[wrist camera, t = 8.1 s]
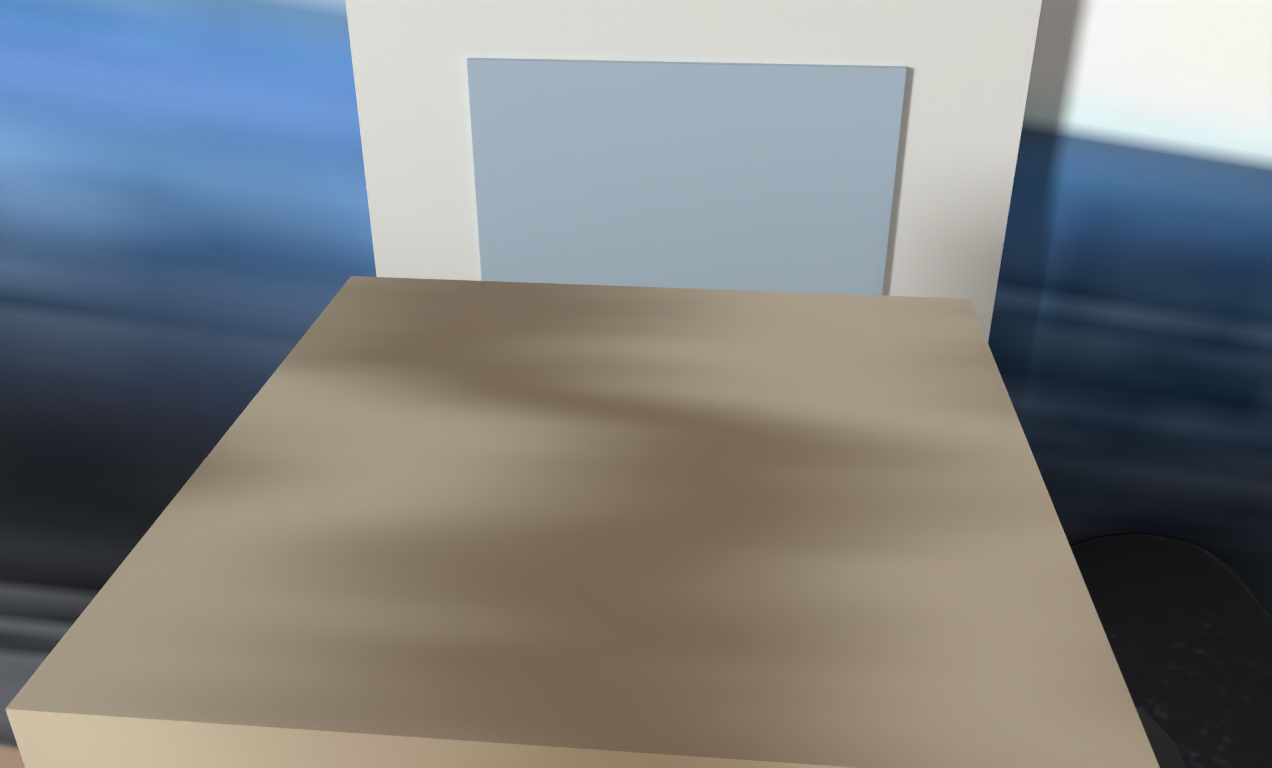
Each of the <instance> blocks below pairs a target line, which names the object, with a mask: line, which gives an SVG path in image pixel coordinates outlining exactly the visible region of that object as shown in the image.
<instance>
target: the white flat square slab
mask: <svg viewBox="0 0 1272 768" xmlns="http://www.w3.org/2000/svg"><path fill="white" fill-rule="evenodd" d="M1041 4H1042V0H346V9H347V18H348V27H349V35H350V44H351V53H352V62H353V71H354V80H355V89H356V98H357V106H358V115H359V124H360V133H361V142H362V151H363V160H364V168H365V177H366V186H367V195H368V204H369V213H370V222H371V230H372V239H373V248H374V257H375V266H376V275H377V277H390V278H417V279H445V280H472V281H499V282H527V283H554V284H581V285H609V286H636V287H663V288H691V289H718V290H745V291H772V292H800V293H827V294H854V295H882V296H909V297H936V298H964V299H970V301H971V303H972V306H973V308H974V311H975V313H976V316H977V318H978V320H979V323H980V325H981V328H982V330H983V333H984V335H985V338H986V340H987V343H988V340H989V333H990V327H991V321H992V314H993V308H994V302H995V295H996V289H997V283H998V276H999V270H1000V264H1001V257H1002V251H1003V245H1004V238H1005V232H1006V226H1007V219H1008V213H1009V207H1010V200H1011V194H1012V188H1013V182H1014V175H1015V169H1016V163H1017V156H1018V150H1019V144H1020V137H1021V131H1022V125H1023V118H1024V112H1025V106H1026V99H1027V93H1028V87H1029V80H1030V74H1031V68H1032V61H1033V55H1034V49H1035V42H1036V36H1037V30H1038V23H1039V17H1040V11H1041Z"/></svg>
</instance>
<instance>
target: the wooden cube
mask: <svg viewBox="0 0 1272 768" xmlns="http://www.w3.org/2000/svg"><path fill="white" fill-rule="evenodd" d="M6 712H7V715H8V718H9V721H10V724H11V727H12V730H13V733H14V736H15V739H16V742H17V745H18V748H19V751H20V754H21V756H22V759H23V762H24V765H25V768H1160V767H1159V765H1158V762H1157V760H1156V757H1155V755H1154V752H1153V750H1152V748H1151V745H1150V743H1149V740H1148V738H1147V735H1146V733H1145V730H1144V728H1143V725H1142V723H1141V720H1140V718H1139V715H1138V713H1137V711H1136V708H1135V706H1134V703H1133V701H1132V698H1131V696H1130V693H1129V691H1128V688H1127V686H1126V683H1125V681H1124V678H1123V676H1122V673H1121V671H1120V669H1119V666H1118V664H1117V661H1116V659H1115V656H1114V654H1113V651H1112V649H1111V646H1110V644H1109V641H1108V639H1107V636H1106V634H1105V632H1104V629H1103V627H1102V624H1101V622H1100V619H1099V617H1098V614H1097V612H1096V609H1095V607H1094V604H1093V602H1092V599H1091V597H1090V594H1089V592H1088V590H1087V587H1086V585H1085V582H1084V580H1083V577H1082V575H1081V572H1080V570H1079V567H1078V565H1077V562H1076V560H1075V557H1074V555H1073V553H1072V550H1071V548H1070V545H1069V543H1068V540H1067V538H1066V535H1065V533H1064V530H1063V528H1062V525H1061V523H1060V520H1059V518H1058V515H1057V513H1056V511H1055V508H1054V506H1053V503H1052V501H1051V498H1050V496H1049V493H1048V491H1047V488H1046V486H1045V483H1044V481H1043V478H1042V476H1041V474H1040V471H1039V469H1038V466H1037V464H1036V461H1035V459H1034V456H1033V454H1032V451H1031V449H1030V446H1029V444H1028V441H1027V439H1026V436H1025V434H1024V432H1023V429H1022V427H1021V424H1020V422H1019V419H1018V417H1017V414H1016V412H1015V409H1014V407H1013V404H1012V402H1011V399H1010V397H1009V395H1008V392H1007V390H1006V387H1005V385H1004V382H1003V380H1002V377H1001V375H1000V372H999V370H998V367H997V365H996V362H995V360H994V357H993V355H992V353H991V350H990V348H989V345H988V343H987V340H986V338H985V335H984V333H983V330H982V328H981V325H980V323H979V320H978V318H977V316H976V313H975V311H974V308H973V306H972V303H971V301H970V299H964V298H936V297H909V296H882V295H854V294H827V293H800V292H772V291H745V290H718V289H691V288H663V287H636V286H609V285H581V284H554V283H527V282H499V281H472V280H445V279H417V278H390V277H363V276H351V277H350V278H349V279H348V281H347V282H346V283H345V284H344V286H343V287H342V288H341V289H340V291H339V292H338V293H337V294H336V296H335V297H334V298H333V299H332V301H331V302H330V303H329V304H328V306H327V307H326V308H325V309H324V311H323V312H322V313H321V314H320V316H319V317H318V318H317V319H316V321H315V322H314V323H313V325H312V326H311V327H310V328H309V330H308V331H307V332H306V333H305V335H304V336H303V337H302V338H301V340H300V341H299V342H298V343H297V345H296V346H295V347H294V348H293V350H292V351H291V352H290V353H289V355H288V356H287V357H286V358H285V360H284V361H283V362H282V363H281V365H280V366H279V367H278V368H277V370H276V371H275V372H274V373H273V375H272V376H271V377H270V378H269V380H268V381H267V382H266V383H265V385H264V386H263V387H262V388H261V390H260V391H259V392H258V393H257V395H256V396H255V397H254V398H253V400H252V401H251V402H250V403H249V405H248V406H247V407H246V408H245V410H244V411H243V412H242V413H241V415H240V416H239V417H238V418H237V420H236V421H235V422H234V423H233V425H232V426H231V427H230V428H229V430H228V431H227V432H226V433H225V435H224V436H223V437H222V438H221V440H220V441H219V442H218V443H217V445H216V446H215V447H214V448H213V450H212V451H211V452H210V453H209V455H208V456H207V457H206V458H205V460H204V461H203V462H202V463H201V465H200V466H199V467H198V468H197V470H196V471H195V472H194V474H193V475H192V476H191V477H190V479H189V480H188V481H187V482H186V484H185V485H184V486H183V487H182V489H181V490H180V491H179V492H178V494H177V495H176V496H175V497H174V499H173V500H172V501H171V502H170V504H169V505H168V506H167V507H166V509H165V510H164V511H163V512H162V514H161V515H160V516H159V517H158V519H157V520H156V521H155V522H154V524H153V525H152V526H151V527H150V529H149V530H148V531H147V532H146V534H145V535H144V536H143V537H142V539H141V540H140V541H139V542H138V544H137V545H136V546H135V547H134V549H133V550H132V551H131V552H130V554H129V555H128V556H127V557H126V559H125V560H124V561H123V562H122V564H121V565H120V566H119V567H118V569H117V570H116V571H115V572H114V574H113V575H112V576H111V577H110V579H109V580H108V581H107V582H106V584H105V585H104V586H103V587H102V589H101V590H100V591H99V592H98V594H97V595H96V596H95V597H94V599H93V600H92V601H91V602H90V604H89V605H88V606H87V607H86V609H85V610H84V611H83V612H82V614H81V615H80V616H79V617H78V619H77V620H76V621H75V623H74V624H73V625H72V626H71V628H70V629H69V630H68V631H67V633H66V634H65V635H64V636H63V638H62V639H61V640H60V641H59V643H58V644H57V645H56V646H55V648H54V649H53V650H52V651H51V653H50V654H49V655H48V656H47V658H46V659H45V660H44V661H43V663H42V664H41V665H40V666H39V668H38V669H37V670H36V671H35V673H34V674H33V675H32V676H31V678H30V679H29V680H28V681H27V683H26V684H25V685H24V686H23V688H22V689H21V690H20V691H19V693H18V694H17V695H16V696H15V698H14V699H13V700H12V701H11V703H10V704H9V705H8V706H7V708H6Z"/></svg>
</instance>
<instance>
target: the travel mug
mask: <svg viewBox="0 0 1272 768" xmlns="http://www.w3.org/2000/svg"><path fill="white" fill-rule="evenodd" d="M1070 548H1071V550H1072V553H1073V555H1074V557H1075V560H1076V562H1077V565H1078V567H1079V570H1080V572H1081V575H1082V577H1083V580H1084V582H1085V585H1086V587H1087V590H1088V592H1089V594H1090V597H1091V599H1092V602H1093V604H1094V607H1095V609H1096V612H1097V614H1098V617H1099V619H1100V622H1101V624H1102V627H1103V629H1104V632H1105V634H1106V636H1107V639H1108V641H1109V644H1110V646H1111V649H1112V651H1113V654H1114V656H1115V659H1116V661H1117V664H1118V666H1119V669H1120V671H1121V673H1122V676H1123V678H1124V681H1125V683H1126V686H1127V688H1128V691H1129V693H1130V696H1131V698H1132V701H1133V703H1134V706H1135V707H1142V708H1143V709H1144V710H1145V711H1146V712H1147V713H1148V714H1149V715H1150V716H1151V717H1152V718H1153V720H1154V721H1155V722H1156V723H1157V724H1158V725H1159V726H1160V727H1161V728H1162V729H1163V730H1164V731H1165V732H1166V733H1167V734H1168V735H1169V736H1170V737H1171V738H1172V739H1173V741H1174V742H1175V743H1176V746H1177V748H1178V750H1179V753H1180V755H1181V757H1182V760H1183V762H1184V764H1185V767H1186V768H1272V619H1271V617H1270V616H1269V615H1268V613H1267V612H1266V610H1265V609H1264V607H1263V606H1262V605H1261V603H1260V602H1259V600H1258V599H1257V597H1256V596H1255V595H1254V593H1253V592H1252V590H1251V589H1250V588H1249V586H1248V585H1247V584H1246V582H1245V581H1244V580H1243V579H1242V577H1241V576H1240V575H1239V574H1238V573H1237V572H1236V571H1235V570H1234V569H1233V568H1232V567H1231V566H1230V565H1228V564H1227V563H1225V562H1224V561H1223V560H1221V559H1220V558H1219V557H1217V556H1216V555H1215V554H1213V553H1211V552H1209V551H1207V550H1205V549H1203V548H1202V547H1199V546H1197V545H1194V544H1192V543H1189V542H1186V541H1183V540H1179V539H1175V538H1171V537H1167V536H1159V535H1152V534H1121V535H1111V536H1105V537H1100V538H1094V539H1091V540H1087V541H1084V542H1080V543H1077V544H1074V545H1072V546H1070Z"/></svg>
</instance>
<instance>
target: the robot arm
mask: <svg viewBox="0 0 1272 768" xmlns="http://www.w3.org/2000/svg"><path fill="white" fill-rule="evenodd" d="M1135 708H1136V711H1137V713H1138V715H1139V718H1140V720H1141V723H1142V725H1143V728H1144V730H1145V733H1146V735H1147V738H1148V740H1149V743H1150V745H1151V748H1152V750H1153V752H1154V755H1155V757H1156V760H1157V762H1158V765H1159V767H1160V768H1186V767H1185V764H1184V762H1183V760H1182V757H1181V755H1180V753H1179V750H1178V748H1177V746H1176V743H1175V742H1174V741H1173V739H1172V738H1171V737H1170V736H1169V735H1168V734H1167V733H1166V732H1165V731H1164V730H1163V729H1162V728H1161V727H1160V726H1159V725H1158V724H1157V723H1156V722H1155V721H1154V720H1153V718H1152V717H1151V716H1150V715H1149V714H1148V713H1147V712H1146V711H1145V710H1144V709H1143V708H1142V707H1135Z"/></svg>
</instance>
